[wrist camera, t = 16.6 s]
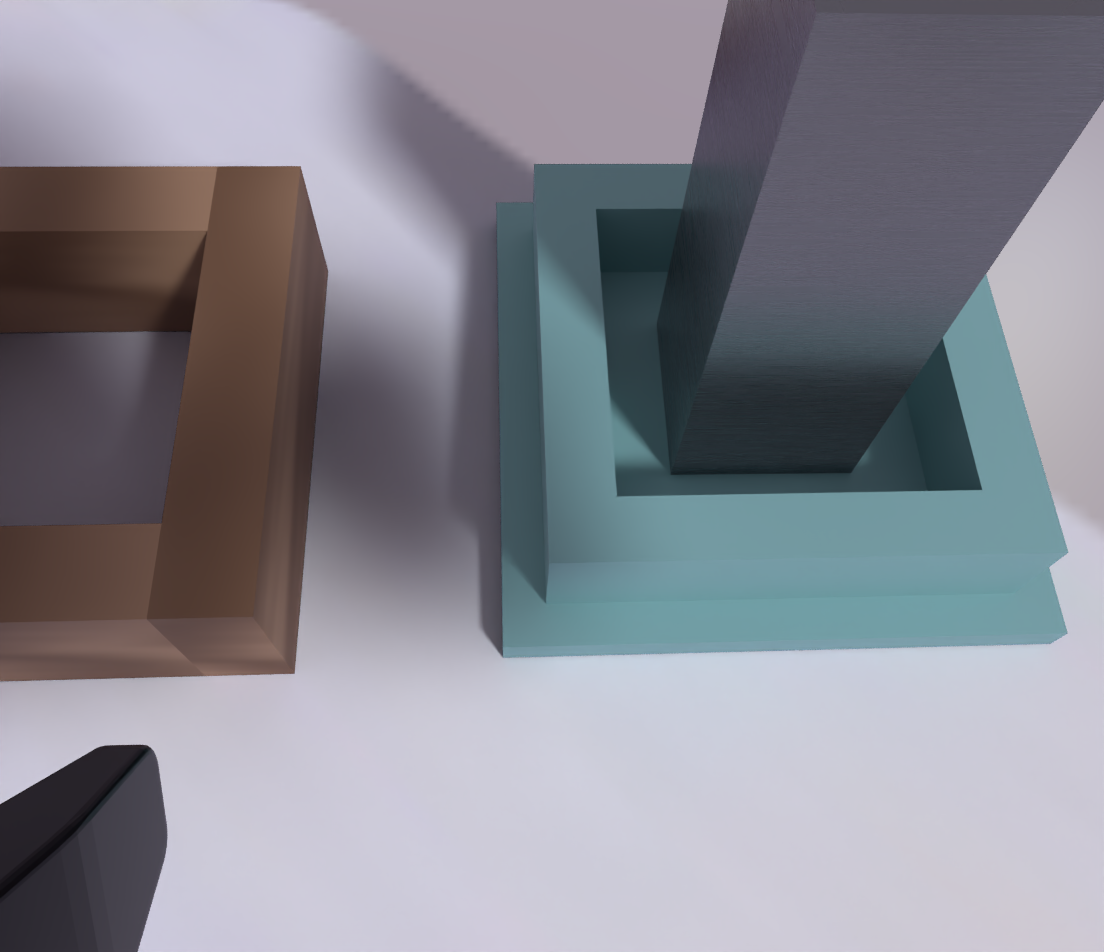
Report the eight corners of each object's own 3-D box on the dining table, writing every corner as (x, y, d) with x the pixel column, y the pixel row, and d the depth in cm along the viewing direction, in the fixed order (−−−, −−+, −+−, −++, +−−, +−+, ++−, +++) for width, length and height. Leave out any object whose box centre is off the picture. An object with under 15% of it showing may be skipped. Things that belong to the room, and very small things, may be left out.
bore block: (327, 271, 28) (300, 166, 24) (294, 673, 22) (253, 616, 19) (-94, 273, 27) (-187, 167, 23) (-230, 687, 22) (-375, 631, 18)
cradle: (934, 220, 29) (982, 135, 26) (1050, 643, 23) (1127, 595, 20) (496, 221, 29) (494, 135, 26) (503, 657, 23) (501, 610, 20)
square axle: (823, 323, 26) (1067, -188, 15) (851, 473, 24) (1159, 16, 13) (656, 324, 26) (771, -193, 15) (670, 474, 24) (817, 12, 12)
